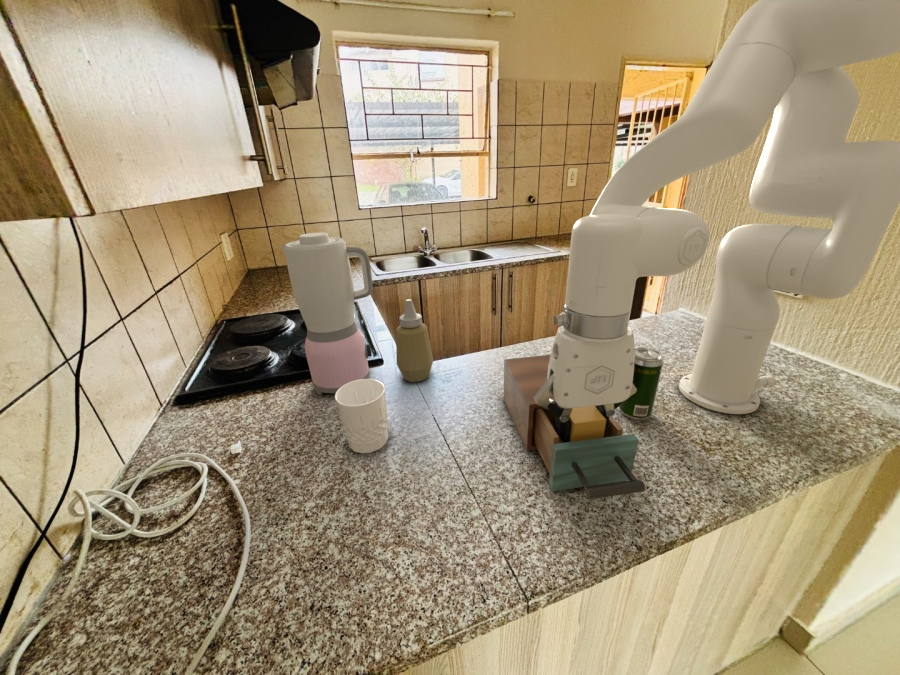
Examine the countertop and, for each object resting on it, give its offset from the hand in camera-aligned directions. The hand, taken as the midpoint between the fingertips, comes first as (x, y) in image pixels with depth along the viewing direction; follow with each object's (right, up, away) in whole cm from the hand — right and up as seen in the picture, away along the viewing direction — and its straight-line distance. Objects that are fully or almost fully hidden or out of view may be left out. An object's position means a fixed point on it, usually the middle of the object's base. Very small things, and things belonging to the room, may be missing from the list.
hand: (579, 435), depth 52 cm
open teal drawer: (0, -5, +1) cm, 5 cm away
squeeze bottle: (-26, +5, +29) cm, 39 cm away
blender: (-41, +4, +28) cm, 50 cm away
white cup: (-33, -4, +10) cm, 35 cm away
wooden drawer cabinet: (-1, -1, +13) cm, 13 cm away
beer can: (+15, 0, +13) cm, 20 cm away
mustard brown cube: (0, 0, 0) cm, 0 cm away
